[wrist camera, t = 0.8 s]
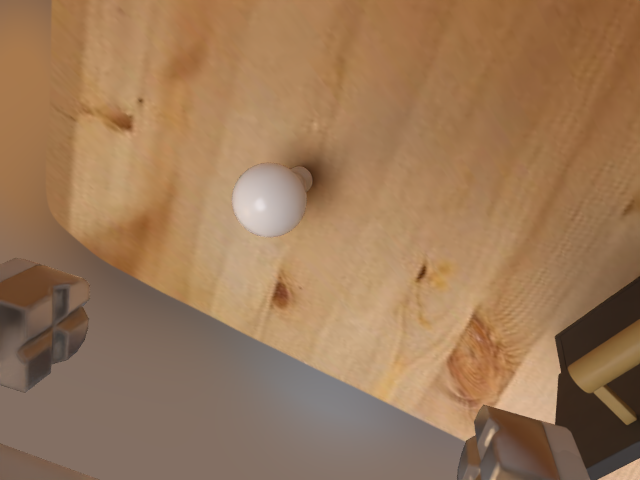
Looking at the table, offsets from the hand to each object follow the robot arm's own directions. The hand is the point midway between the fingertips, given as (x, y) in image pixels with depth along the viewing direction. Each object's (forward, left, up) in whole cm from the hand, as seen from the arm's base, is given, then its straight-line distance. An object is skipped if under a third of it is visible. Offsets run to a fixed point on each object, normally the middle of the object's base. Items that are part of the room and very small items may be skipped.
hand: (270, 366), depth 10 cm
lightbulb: (+13, -7, -37) cm, 40 cm away
